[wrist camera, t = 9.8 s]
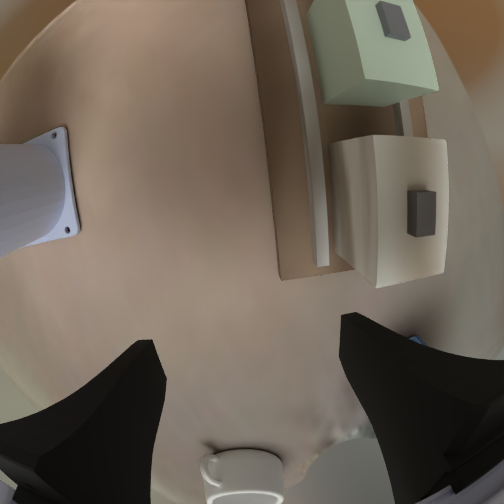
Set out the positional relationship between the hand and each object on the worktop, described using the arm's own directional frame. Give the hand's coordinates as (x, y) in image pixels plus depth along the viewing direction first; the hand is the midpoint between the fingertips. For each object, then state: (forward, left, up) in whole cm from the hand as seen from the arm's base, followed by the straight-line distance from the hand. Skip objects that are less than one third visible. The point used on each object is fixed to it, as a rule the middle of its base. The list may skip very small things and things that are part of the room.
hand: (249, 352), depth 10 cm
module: (+8, +14, -8) cm, 18 cm away
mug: (-4, -25, -10) cm, 27 cm away
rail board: (+8, +10, -9) cm, 16 cm away
